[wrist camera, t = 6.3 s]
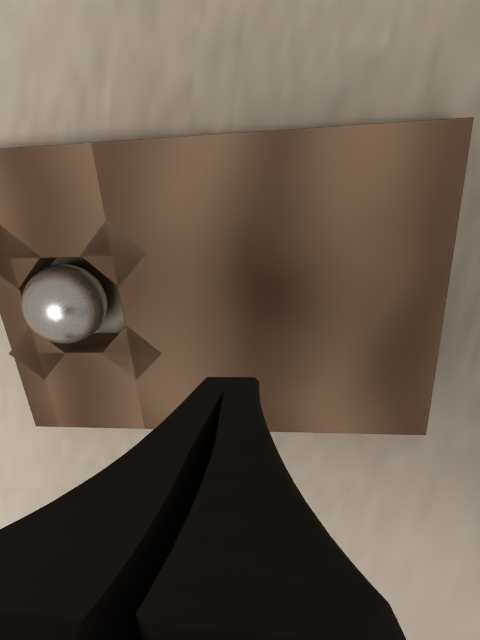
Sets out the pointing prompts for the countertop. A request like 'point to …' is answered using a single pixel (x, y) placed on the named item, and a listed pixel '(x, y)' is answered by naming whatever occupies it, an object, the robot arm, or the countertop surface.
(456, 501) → the countertop surface
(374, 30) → the countertop surface
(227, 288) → the walnut board
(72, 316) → the steel ball
